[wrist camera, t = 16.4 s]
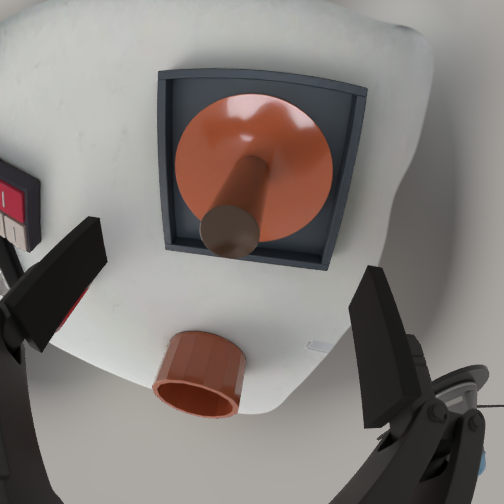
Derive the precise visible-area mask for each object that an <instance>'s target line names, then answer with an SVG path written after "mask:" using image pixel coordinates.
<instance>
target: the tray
mask: <svg viewBox="0 0 504 504" xmlns="http://www.w3.org/2000/svg"><path fill="white" fill-rule="evenodd" d="M367 91H368V89H367V88H365V87H361V86H357V85H353V84H348V83H344V82H339V81H334V80H329V79H324V78H318V77H312V76H306V75H299V74H292V73H284V72H274V71H263V70H249V69H219V68H209V69H179V70H164V71H158V92H157V135H158V164H159V183H160V197H161V210H162V221H163V231H164V240H165V249H166V250H171V251H179V252H186V253H193V254H201V255H208V256H215V257H221V256H218V255H216V254H214V253H213V252H211V251H210V250H209V249H208V248H207V247H206V246H205V244H204V243H203V241H202V239H201V236H200V223H201V221H200V220H199V219H198V218H197V217H196V216H195V215H194V213H193V212H192V211H191V210H190V208H189V207H188V206H187V204H186V202H185V201H184V199H183V197H182V195H181V192H180V190H179V187H178V184H177V179H176V173H175V158H176V152H177V147H178V144H179V141H180V139H181V136H182V134H183V132H184V131H185V129H186V127H187V126H188V124H189V123H190V122H191V121H192V119H193V118H194V117H195V116H196V115H197V114H198V113H199V112H200V111H202V110H203V109H204V108H206V107H207V106H209V105H210V104H212V103H214V102H216V101H218V100H220V99H223V98H226V97H229V96H233V95H238V94H247V93H257V94H266V95H271V96H275V97H278V98H281V99H284V100H286V101H288V102H290V103H292V104H294V105H295V106H297V107H298V108H300V109H301V110H303V111H304V112H305V113H306V114H307V115H308V116H309V117H310V118H311V119H312V120H313V121H314V122H315V123H316V125H317V126H318V127H319V128H320V130H321V132H322V133H323V135H324V137H325V138H326V141H327V143H328V146H329V148H330V152H331V156H332V163H333V179H332V184H331V189H330V192H329V195H328V197H327V199H326V201H325V203H324V205H323V207H322V208H321V210H320V211H319V213H318V214H317V215H316V216H315V217H314V218H313V220H312V221H310V222H309V223H308V224H307V225H306V226H305V227H303V228H302V229H300V230H298V231H297V232H295V233H293V234H291V235H289V236H286V237H283V238H280V239H277V240H272V241H265V242H259V243H258V245H257V247H256V248H255V249H254V251H252V252H251V253H250V254H248V255H247V256H244V257H242V258H236V259H238V260H245V261H253V262H260V263H268V264H276V265H284V266H291V267H299V268H307V269H315V270H323V271H327V270H328V267H329V264H330V260H331V257H332V253H333V250H334V246H335V243H336V239H337V235H338V232H339V228H340V224H341V220H342V216H343V212H344V208H345V204H346V200H347V196H348V192H349V187H350V183H351V179H352V174H353V169H354V165H355V160H356V155H357V150H358V145H359V140H360V134H361V129H362V123H363V117H364V111H365V105H366V97H367ZM223 258H224V257H223Z"/></svg>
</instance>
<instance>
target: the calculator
mask: <svg viewBox="0 0 504 504" xmlns="http://www.w3.org/2000/svg"><path fill="white" fill-rule="evenodd" d="M0 236H2V237H3V238H5V237H6V238H7V240H8V241H9V242H11V243H12V244H14V245H16V246H17V247H19V248H20V249H22V250H23V251H25V252H26V251H27V252H29V253H30V252H31V251H32V250H33V249H34V248H35V247H36V246H37V245H38V244H39V243H40V242H41V237H40V181H39V180H38V179H36V178H34V177H31V176H29V175H27V174H25V173H23V172H21V171H19V170H17V169H15V168H13V167H11V166H9V165H7V164H5V163H3V162H1V161H0Z"/></svg>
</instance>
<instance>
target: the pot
mask: <svg viewBox="0 0 504 504" xmlns="http://www.w3.org/2000/svg"><path fill="white" fill-rule="evenodd" d="M245 366H246V358H245V356H244V354H243V352H242V351H241V350H240V349H239V348H238V347H237V346H236V345H235V344H233V343H232V342H230V341H228V340H226V339H224V338H222V337H220V336H217V335H214V334H210V333H206V332H199V331H188V332H182V333H179V334H177V335H175V336H174V337H172V338H171V340H170V342H169V344H168V345H167V348H166V351H165V353H164V356H163V358H162V361H161V364H160V366H159V369H158V372H157V374H156V377H155V380H154V383H153V385H152V389H153V391H154V394H155V395H156V396H157V397H158V398H159V399H160V400H161V401H163V402H164V403H166V404H168V405H169V406H171V407H173V408H175V409H177V410H179V411H182V412H185V413H187V414H191V415H195V416H199V417H204V418H217V419H218V418H226V417H231V416H233V415H234V414H236V413H237V412H238V408H239V403H240V397H241V391H242V385H243V379H244V372H245Z"/></svg>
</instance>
